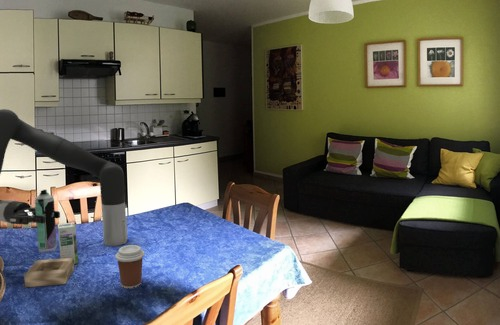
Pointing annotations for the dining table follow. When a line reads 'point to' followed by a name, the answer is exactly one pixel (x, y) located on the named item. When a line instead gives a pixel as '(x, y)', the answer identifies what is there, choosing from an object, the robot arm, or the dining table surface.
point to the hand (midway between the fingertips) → (51, 217)
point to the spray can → (46, 222)
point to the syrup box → (68, 241)
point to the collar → (49, 272)
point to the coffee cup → (130, 265)
